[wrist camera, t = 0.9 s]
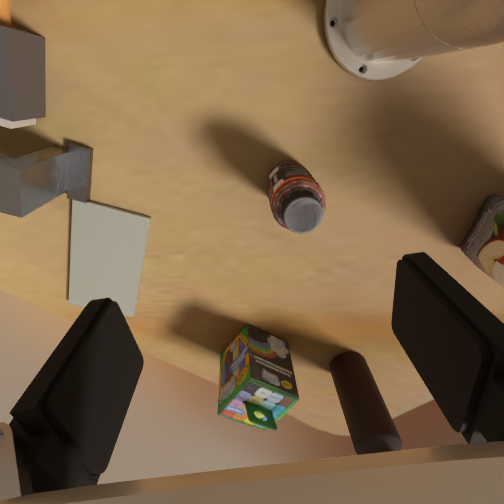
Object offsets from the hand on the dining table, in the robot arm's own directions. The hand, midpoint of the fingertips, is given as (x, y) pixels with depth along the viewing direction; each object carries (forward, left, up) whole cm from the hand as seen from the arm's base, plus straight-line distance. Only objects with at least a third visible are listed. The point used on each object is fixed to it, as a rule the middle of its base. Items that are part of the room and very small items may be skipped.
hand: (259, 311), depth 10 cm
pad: (+22, -15, -31) cm, 41 cm away
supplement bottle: (+3, +6, -31) cm, 32 cm away
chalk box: (+33, +11, -32) cm, 47 cm away
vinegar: (+32, +29, -31) cm, 53 cm away
